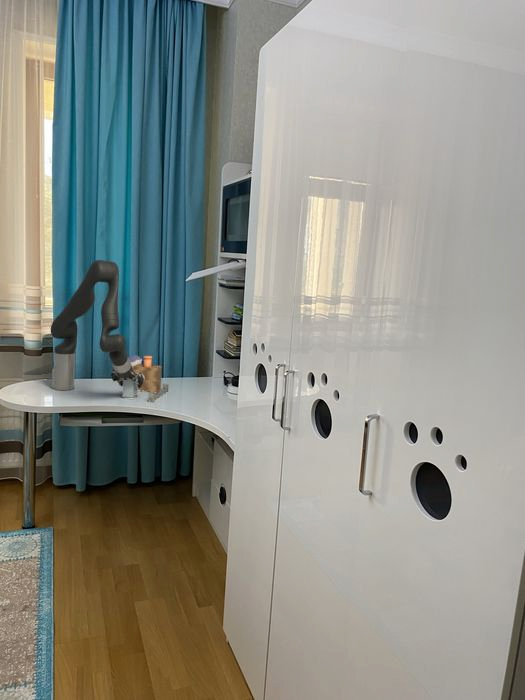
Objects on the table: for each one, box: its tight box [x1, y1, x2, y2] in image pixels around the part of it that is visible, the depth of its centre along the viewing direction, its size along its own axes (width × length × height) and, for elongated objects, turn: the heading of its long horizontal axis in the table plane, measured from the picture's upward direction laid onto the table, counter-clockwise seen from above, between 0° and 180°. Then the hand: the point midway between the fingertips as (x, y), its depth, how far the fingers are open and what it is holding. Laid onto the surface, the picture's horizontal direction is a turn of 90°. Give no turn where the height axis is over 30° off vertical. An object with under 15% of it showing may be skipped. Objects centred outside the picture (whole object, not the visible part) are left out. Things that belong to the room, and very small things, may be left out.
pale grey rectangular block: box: [121, 378, 138, 399], centre depth 274 cm, size 5×5×10 cm
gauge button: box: [143, 355, 153, 368], centre depth 289 cm, size 4×4×8 cm
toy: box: [128, 354, 144, 367], centre depth 300 cm, size 11×10×15 cm
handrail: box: [147, 383, 169, 403], centre depth 279 cm, size 2×22×4 cm, turn 171°
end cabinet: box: [133, 364, 163, 393], centre depth 289 cm, size 12×8×12 cm, turn 81°
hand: (131, 385), depth 275 cm, fingers open, 8 cm apart
